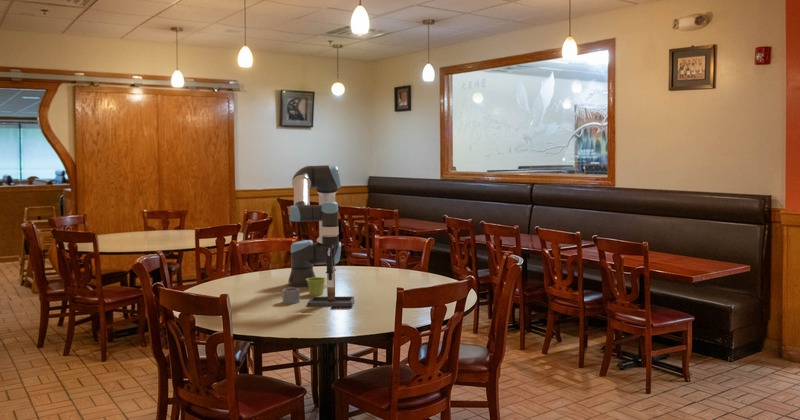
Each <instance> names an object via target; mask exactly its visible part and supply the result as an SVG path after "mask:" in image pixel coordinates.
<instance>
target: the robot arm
mask: <svg viewBox="0 0 800 420" xmlns="http://www.w3.org/2000/svg"><path fill="white" fill-rule="evenodd" d="M339 170H340V169H339V168H338V166H337V165H325V164H324V165H306V166H304V167H301V168H299V169H298V170H297V171H296V172H295V174H294V175H293V177H292V180H291V186H292V188H293V205H290V206H289V220H290V221H291V222H299V223H300V222H318V224H319V227H318V230H319V234H318V238H316V242H313V240H312V239H305V240H299V241H296V242H292V244H291V245H290V265H291V266H290V270H291V271H290V273H289V276H288V280H287V284H288V286H291V287H308V283H307V280H306V279H308V278H313V277H316V274H315V272H314V265H326V271H325V274H326V285H327V284H328V287H334V279H333V266H334V267H335V272H337V269H336V266H335V265H336V264H338V263H339V262H340V259H341V251H342V242H341V241H339V234H340V232H339V231H340V230H339V204H338V201H337V202H336V194H337V193H338V192H339V189H340V188H341V187H342V186H341V185H342V184H341V177H340V171H339ZM310 189H315V192H316V193H317V194H318V204H310V201H311V199H310Z"/></svg>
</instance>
